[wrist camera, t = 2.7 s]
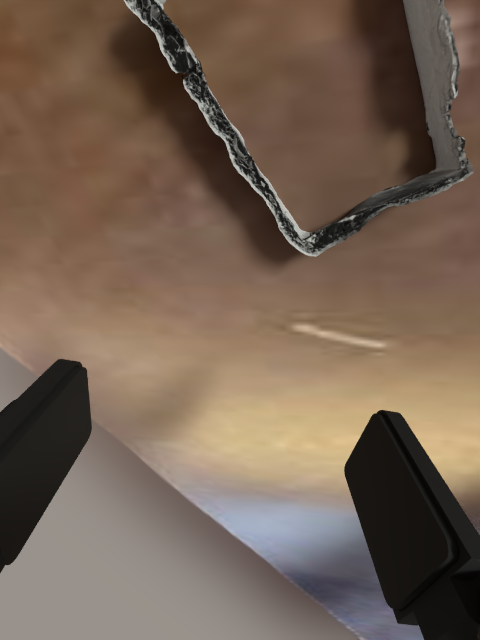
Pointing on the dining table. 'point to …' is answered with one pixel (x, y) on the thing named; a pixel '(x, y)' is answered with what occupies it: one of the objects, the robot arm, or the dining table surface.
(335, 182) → the dining table surface
